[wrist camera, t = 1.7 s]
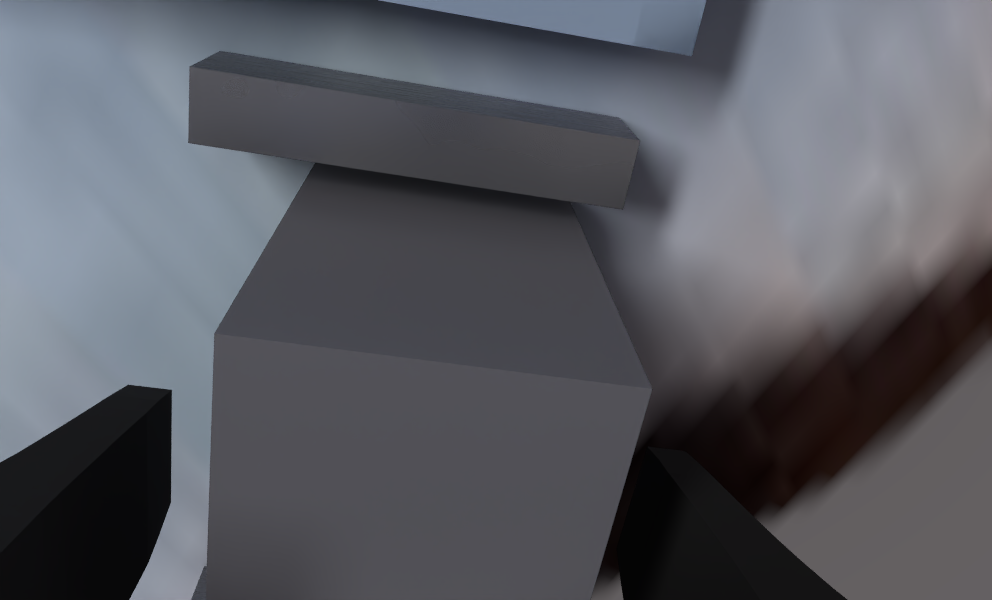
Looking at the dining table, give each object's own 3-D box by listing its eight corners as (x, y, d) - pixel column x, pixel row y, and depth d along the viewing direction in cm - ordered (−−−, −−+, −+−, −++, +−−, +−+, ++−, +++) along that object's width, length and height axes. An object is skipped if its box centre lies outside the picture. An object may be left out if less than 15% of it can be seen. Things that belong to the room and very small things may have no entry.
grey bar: (284, 552, 16) (196, 883, 10) (317, 157, 12) (214, 333, 7) (485, 572, 16) (502, 897, 11) (567, 196, 13) (652, 389, 7)
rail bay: (203, 604, 16) (179, 666, 15) (219, 50, 12) (189, 66, 10) (498, 630, 17) (502, 692, 15) (618, 117, 12) (639, 140, 11)
